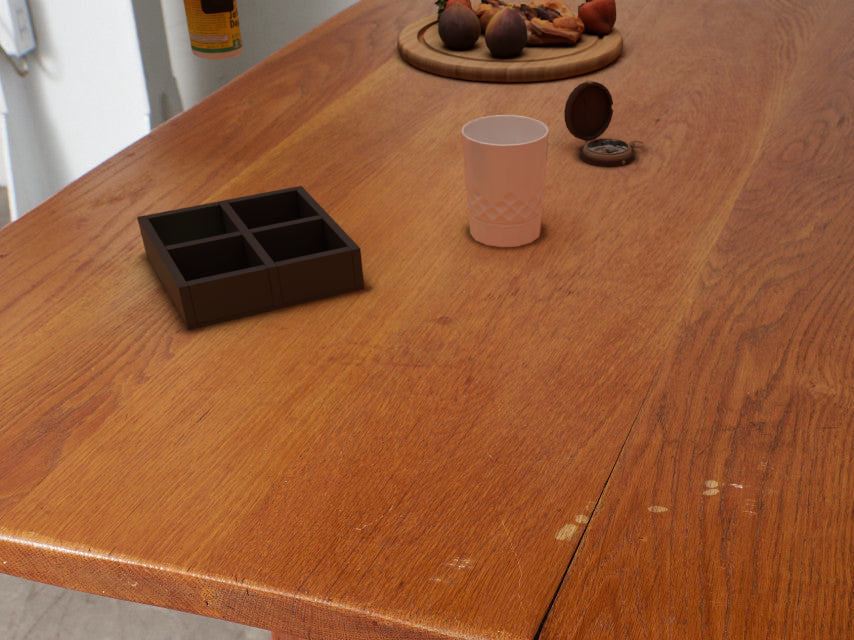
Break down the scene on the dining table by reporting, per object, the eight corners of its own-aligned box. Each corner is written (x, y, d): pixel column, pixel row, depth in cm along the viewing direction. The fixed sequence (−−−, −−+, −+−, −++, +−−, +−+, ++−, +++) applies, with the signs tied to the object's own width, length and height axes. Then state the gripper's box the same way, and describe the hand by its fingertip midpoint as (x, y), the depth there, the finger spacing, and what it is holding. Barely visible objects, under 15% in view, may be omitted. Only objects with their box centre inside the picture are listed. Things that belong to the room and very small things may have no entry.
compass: (600, 173, 109) (604, 104, 104) (560, 150, 114) (562, 83, 109) (659, 159, 112) (666, 91, 107) (618, 138, 117) (622, 72, 113)
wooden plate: (628, 26, 155) (633, -34, 149) (614, 91, 130) (619, 23, 125) (424, 18, 158) (421, -41, 153) (373, 80, 134) (368, 13, 129)
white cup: (517, 211, 101) (518, 109, 95) (562, 239, 96) (566, 133, 90) (449, 229, 98) (445, 124, 92) (492, 259, 93) (490, 151, 86)
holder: (188, 333, 82) (178, 287, 80) (147, 259, 93) (136, 216, 90) (365, 291, 88) (360, 247, 85) (307, 226, 98) (301, 185, 96)
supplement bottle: (193, 47, 110) (176, -52, 104) (244, 46, 111) (230, -53, 105) (191, 61, 106) (173, -42, 100) (243, 59, 107) (228, -43, 101)
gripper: (117, -213, 98) (155, -9, 110) (157, -199, 87) (195, 28, 98) (194, -214, 101) (223, -15, 113) (243, -200, 90) (270, 21, 101)
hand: (210, 3), depth 105 cm, fingers closed on supplement bottle, 5 cm apart
